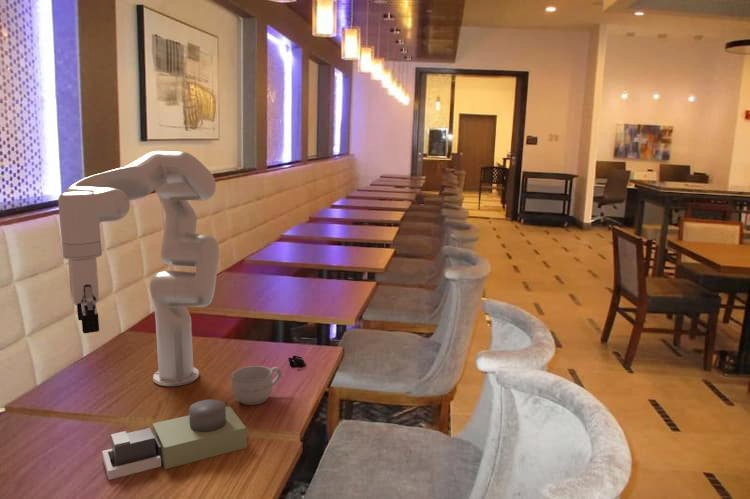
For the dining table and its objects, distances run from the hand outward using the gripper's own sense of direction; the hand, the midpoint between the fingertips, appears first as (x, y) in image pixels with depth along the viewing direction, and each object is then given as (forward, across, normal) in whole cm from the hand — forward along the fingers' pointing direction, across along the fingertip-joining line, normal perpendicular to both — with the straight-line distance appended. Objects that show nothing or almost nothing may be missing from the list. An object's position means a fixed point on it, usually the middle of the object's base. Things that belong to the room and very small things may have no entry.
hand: (88, 325), depth 133 cm
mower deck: (+28, +12, +15) cm, 34 cm away
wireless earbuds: (+29, -21, +58) cm, 68 cm away
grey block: (+28, +12, +6) cm, 32 cm away
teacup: (+29, -4, +40) cm, 49 cm away
